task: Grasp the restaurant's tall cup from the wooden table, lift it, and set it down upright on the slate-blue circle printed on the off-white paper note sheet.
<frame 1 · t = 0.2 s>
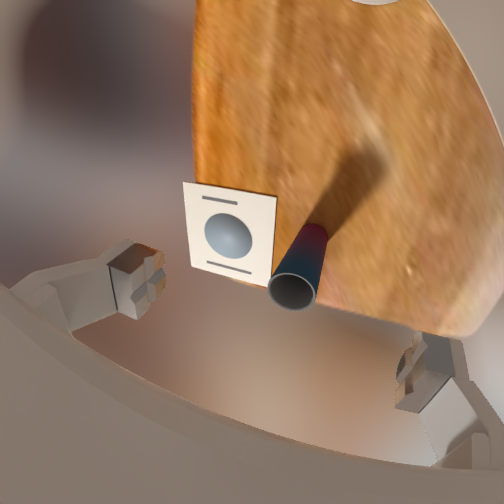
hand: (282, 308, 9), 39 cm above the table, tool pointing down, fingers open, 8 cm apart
paper sheet: (228, 236, 60), on the table
cup: (313, 235, 53), on the table
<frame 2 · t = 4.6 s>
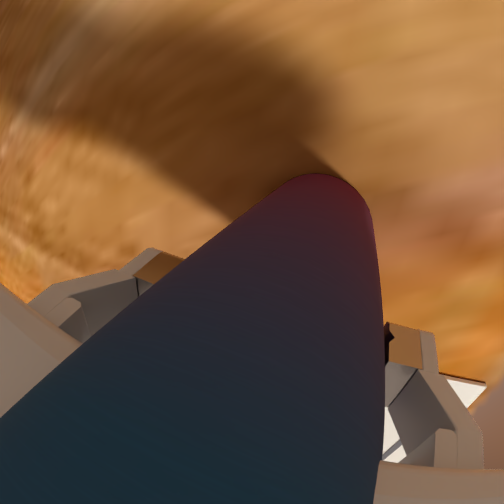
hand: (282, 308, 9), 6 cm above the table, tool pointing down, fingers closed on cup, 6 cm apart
paper sheet: (314, 422, 21), on the table
cup: (319, 224, 14), on the table, touching gripper
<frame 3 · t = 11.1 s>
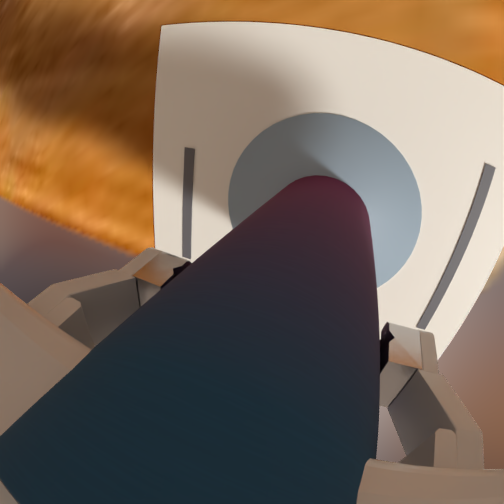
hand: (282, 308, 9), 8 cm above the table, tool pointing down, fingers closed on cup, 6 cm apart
paper sheet: (322, 212, 15), on the table
cup: (320, 222, 15), resting on paper sheet, touching gripper
when the fingers open (8 cm above the table, at t = 11.9 s): cup stays where it is, resting on paper sheet.
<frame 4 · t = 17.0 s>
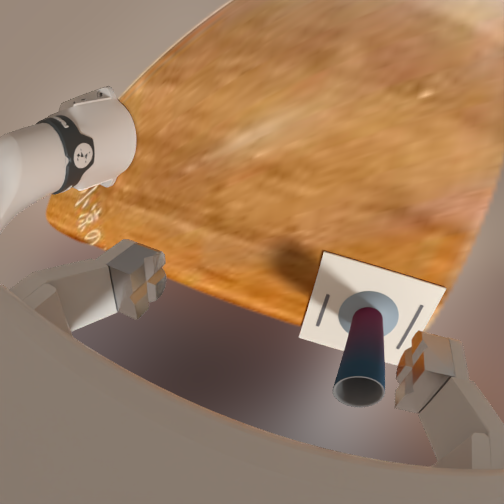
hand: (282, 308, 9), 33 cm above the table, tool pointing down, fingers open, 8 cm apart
paper sheet: (368, 315, 47), on the table
cup: (367, 318, 47), resting on paper sheet
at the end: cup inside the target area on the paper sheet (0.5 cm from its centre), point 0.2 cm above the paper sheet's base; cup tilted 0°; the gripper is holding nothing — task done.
